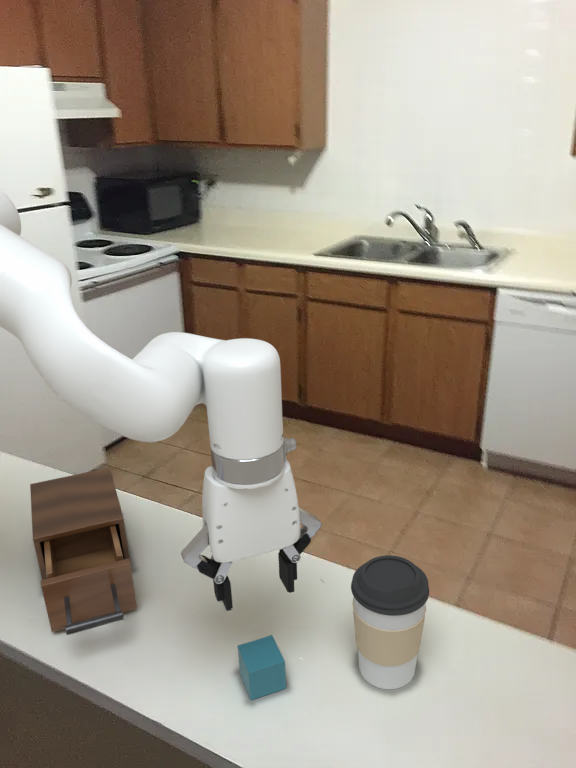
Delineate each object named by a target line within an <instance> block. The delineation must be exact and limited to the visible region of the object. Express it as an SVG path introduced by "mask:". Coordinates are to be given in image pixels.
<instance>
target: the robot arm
mask: <svg viewBox="0 0 576 768" xmlns="http://www.w3.org/2000/svg"><path fill="white" fill-rule="evenodd" d="M21 234H22V221H21V216H20V214H19V211H18V209H17V207H16V205H15V204H14V202H13V201H12V200H11V199H10V197H9V196H8V195H7V194H6V193H4V192H3V191H2V190H1V189H0V328H2V329H4V330H5V331H7V332H9V333H10V334H11V335H13V336H14V337H16V338H17V339H18V341H19V342H20V343H21V345H22V347H23V349H24V352H25V354H26V356H27V357H28V359H29V360H30V363H31V364H32V365H33V367H34V369H35V370H36V372H38V374H39V375H40V377H41V378H42V379H43V381H44V383H45V384H46V385H47V386H48V387H49V388H50V389H51V391H52V392H53V393H54V394H55V395H56V396H57V397H58V398H59V399H60V400H61V401H63V402H64V403H65V404H66V405H68V406H69V407H71V408H72V409H73V410H75V411H77V412H78V413H80V414H81V415H83V416H86V417H87V418H88V419H90V420H92V421H94V423H97V424H98V425H101V426H102V427H104V428H106V429H108V430H109V431H111V432H113V433H115V434H117V435H119V436H122V437H124V438H127V439H129V440H132V441H136V442H142V443H156V442H161V441H164V440H166V439H169V438H170V437H172V436H173V435H175V434H176V433H177V432H178V431H180V430H181V428H182V427H183V426H184V424H185V423H186V422H187V420H188V418H189V416H190V415H191V413H192V412H193V410H194V408H195V407H196V406H197V405H200V404H203V405H205V407H206V415H207V426H208V436H209V437H208V439H209V447H210V448H209V449H210V458H211V460H210V461H211V465H210V466H207V467H206V469H205V470H204V475H203V480H202V481H203V482H202V495H201V496H202V499H201V515H202V516H201V517H202V528H201V529H200V530H199V532H197V533H196V535H194V536H193V538H192V539H191V540H190V541H189V542H188V543H187V544H186V546H185V547H184V548H183V549H182V550H181V552H180V555H181V558H182V561H183V562H184V563H185V564H186V565H188V566H189V567H191V568H193V569H195V570H197V571H198V572H199V573H200V574H202V575H204V576H206V577H208V578H209V579H212V581H213V591H214V597H215V599H216V602H217V603H218V602H222V604H223V607H224V608H225V611H226V612H230V611H232V609H234V606H233V596H232V586H231V585H232V584H231V580H230V578H229V576H228V574H229V571H230V569H231V567H232V564H233V562H236V561H240V560H245V559H248V558H251V557H255V556H260V555H263V554H268V553H270V552H274V551H277V550H278V551H279V552H278V553H277V555H278V575H279V580H280V582H282V585H283V587H284V588H285V590H286V592H287V593H290V594H291V593H294V592H295V581H296V580H298V563H299V562H300V561H301V558H302V556H301V554H302V553H303V552H304V551H305V550H306V549H307V548H308V546H309V545H310V544H311V542H312V538H314V537H315V535H316V534H317V533H318V531H319V530H320V529H321V528H322V527H323V523H322V521H321V520H320V519H319V517H318V516H316V515H315V514H313V513H311V512H309V511H307V510H306V509H304V508H302V507H300V506H299V499H298V493H297V488H296V487H297V486H296V483H295V479H294V475H293V471H292V467H291V464H290V461H288V459H287V455H288V454H289V453H290V452H292V451H296V450H297V442H296V439H295V438H294V437H289V438H288V437H284V422H283V421H284V420H283V419H284V418H283V397H282V393H283V392H282V370H281V369H282V367H281V358H280V355H279V352H278V350H277V349H276V347H274V345H272V344H271V343H269V342H267V341H265V340H262V339H257V338H249V337H246V338H245V337H241V338H233V339H227V340H226V339H219V338H213V337H209V336H203V335H198V334H195V333H189V332H184V331H183V332H182V331H169V332H165V333H161V334H159V335H156V336H155V337H154V338H152V339H151V340H150V341H149V342H148V343H147V344H146V345H145V346H144V347H143V348H142V349H141V350H140V351H139V352H138V353H137V354H136V355H135V356H134V357H132V358H130V357H128V356H127V355H125V354H123V353H122V352H120V351H118V350H117V349H115V348H113V347H112V346H110V345H109V344H107V343H106V342H105V341H103V340H102V339H100V338H99V337H98V336H97V335H96V334H95V333H93V332H92V330H90V329H89V328H88V327H87V326H86V325H85V323H84V322H83V320H82V319H81V318H80V316H79V314H78V312H77V311H76V308H75V306H74V303H73V299H72V283H73V279H72V272H71V270H70V269H69V267H68V266H67V264H65V263H64V262H63V261H62V260H60V259H59V258H56V257H55V256H53V255H51V254H50V253H48V252H47V251H45V250H43V249H42V248H41V247H39V246H37V245H35V244H34V243H32V242H30V241H29V240H27V239H26V238H24V237H22V236H21ZM301 525H302V526H301ZM208 546H209V549H210V553H211V557H207V556H205V555H204V554H202V553H203V551H204V550H206V549H207V548H208Z"/></svg>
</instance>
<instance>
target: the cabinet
mask: <svg viewBox="0 0 576 768" xmlns="http://www.w3.org/2000/svg"><path fill="white" fill-rule="evenodd" d="M113 477H114V476H113V473H112V469H111V467H106V468H101V469H96V470H92V471H87V472H81V473H76V474H72V475H68V476H61V477H58V478H52V479H48V480H43V481H38V482H34V483H30V484H29V488H30V489H29V490H30V491H29V493H30V505H31V506H30V508H31V509H30V513H31V529H32V530H31V531H32V533H31V534H32V543H33V547H34V551H35V556H36V559H37V563H38V569H39V572H40V577H41V580H45V579H47V575H46V564H45V551H44V541H47V540H51V539H55V538H60V537H64V536H68V535H72V534H77V533H81V532H85V531H89V530H94V529H98V528H102V527H106V526H111V525H115V526H116V530H117V534H118V539H119V543H120V547H121V551H122V555H123V560H124V559H128V558H129V560H130V565H131V566H132V562H131V556H130V551H129V543H128V537H127V531H126V525H125V519H124V514H123V511H122V508H121V504H120V499H119V496H118V492H117V489H116V485H115V481H114V478H113ZM132 570H133V568H132V567H131V571H132Z"/></svg>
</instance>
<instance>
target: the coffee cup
mask: <svg viewBox="0 0 576 768" xmlns="http://www.w3.org/2000/svg"><path fill="white" fill-rule="evenodd" d="M350 590H351V594H352V596H353V597H352V598H353V599H352V614H353V621H354V622H353V624H354V636H355V645H356V648H357V656H358V657H357V658H358V665H359V666H358V667H359V668H358V669H359V672H360V675H361V677H362V678H363V679H364V681H366V682H367V683H368V684H369V685H371V686H373V687H376V688H378V689H382V690H397V689H401V688H403V687H404V686H407V685H408V684H409V683H411V681H412V680H413V679H414V676H415V673H416V668H417V661H418V654H419V652H420V648H421V642H422V636H423V631H424V624H425V620H426V619H425V618H426V612H427V605H426V604H427V601H428V600H429V598H430V586H429V580H428V576H427V575H426V573H425V571H424V570H422V569H421V568H420V567H419V566H417V565H416V564H415V563H414V562H413V561H411V560H409V559H407V558H405V557H402V556H398V555H392V554H391V555H390V554H387V555H380V556H375V557H373V558H371V559H369V560H368V561H366V562H365V563H363V564H361V565H360V566H359V567H358V568H356V570H355V572H354V573H353V575H352V578H351V583H350Z"/></svg>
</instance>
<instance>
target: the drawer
mask: <svg viewBox="0 0 576 768" xmlns="http://www.w3.org/2000/svg"><path fill="white" fill-rule="evenodd" d="M44 551H45V564H46V575H47V579H45V580H42V579H41V580H40V587H41V592H42V596H43V600H44V604H45V609H46V614H47V619H48V622H49V626H50V631H51V632H52V633H54V632H56V631H61V630H64V629H65V634H66V636H71V635H73V634H78V633H80V632H84V631H87V630H88V631H89V630H92V629H95V628H98V627H102V626H105V625H109V624H113V623H116V622H119V621H123V620H124V619H125V618H124V617H125V615H124V613H125V612H129V611H133V610H137V609H138V603H137V595H136V591H135V585H134V577H133V572H132V570H131V568H132V564H131V565H130V562H131V559H130V560H129V558H128V559H124V560H123V555H122V551H121V547H120V543H119V539H118V534H117V530H116V526H115V525H111V526H106V527H102V528H98V529H94V530H89V531H85V532H81V533H77V534H72V535H68V536H64V537H60V538H55V539H51V540H47V541H44Z"/></svg>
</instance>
